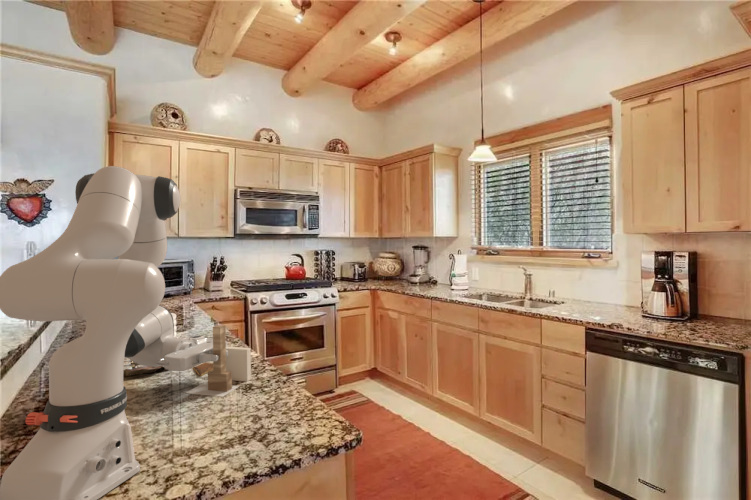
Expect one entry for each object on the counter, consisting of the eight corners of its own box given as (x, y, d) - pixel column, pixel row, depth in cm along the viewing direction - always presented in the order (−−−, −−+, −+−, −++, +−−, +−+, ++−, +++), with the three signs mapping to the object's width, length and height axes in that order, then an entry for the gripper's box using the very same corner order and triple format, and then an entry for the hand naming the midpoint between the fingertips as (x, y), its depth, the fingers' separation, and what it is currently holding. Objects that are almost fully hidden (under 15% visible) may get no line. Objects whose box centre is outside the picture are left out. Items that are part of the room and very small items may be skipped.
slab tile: (247, 382, 119) (247, 349, 119) (223, 380, 121) (223, 348, 121) (251, 380, 121) (250, 347, 121) (228, 378, 123) (227, 346, 123)
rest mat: (222, 398, 107) (222, 396, 107) (184, 394, 110) (184, 392, 110) (239, 387, 115) (239, 386, 115) (203, 384, 118) (203, 382, 118)
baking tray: (185, 373, 130) (185, 356, 130) (105, 386, 118) (105, 368, 118) (169, 352, 155) (170, 338, 155) (102, 361, 142) (102, 346, 142)
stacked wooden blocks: (226, 391, 111) (225, 327, 110) (208, 389, 112) (207, 326, 112) (231, 388, 113) (231, 325, 113) (213, 386, 115) (212, 324, 114)
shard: (200, 379, 123) (200, 374, 123) (179, 378, 125) (179, 372, 125) (221, 368, 134) (221, 363, 134) (201, 367, 136) (201, 362, 136)
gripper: (152, 351, 105) (197, 354, 102) (203, 334, 125) (242, 336, 122) (152, 375, 106) (197, 379, 102) (203, 354, 125) (242, 357, 122)
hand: (222, 355), depth 112 cm, fingers closed on stacked wooden blocks, 2 cm apart
